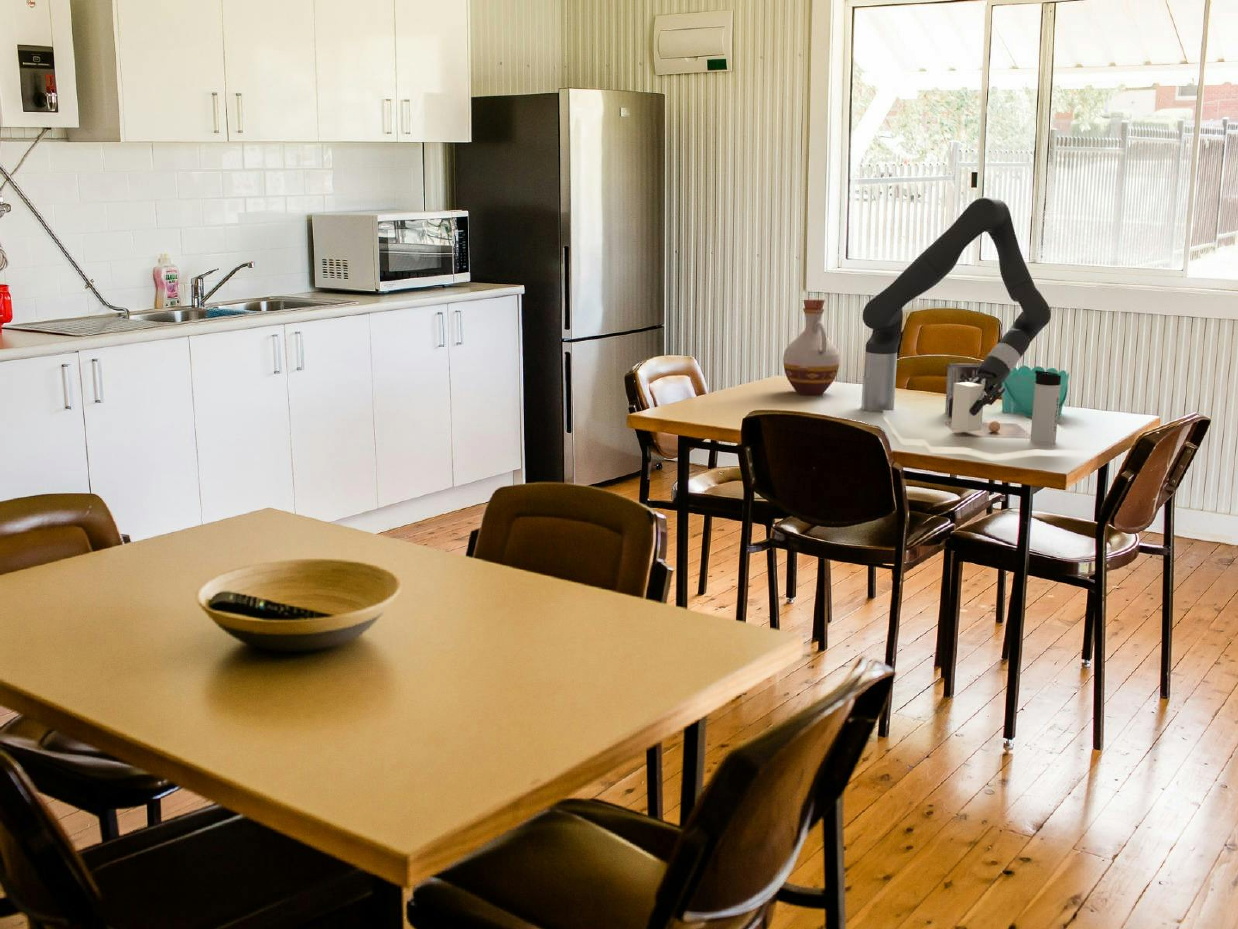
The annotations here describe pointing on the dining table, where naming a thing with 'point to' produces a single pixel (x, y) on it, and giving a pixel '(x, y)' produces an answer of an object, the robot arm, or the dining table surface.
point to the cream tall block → (966, 406)
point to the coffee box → (957, 380)
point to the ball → (994, 426)
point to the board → (1004, 432)
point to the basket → (1027, 390)
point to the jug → (811, 355)
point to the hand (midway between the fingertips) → (962, 411)
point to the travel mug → (1045, 407)
